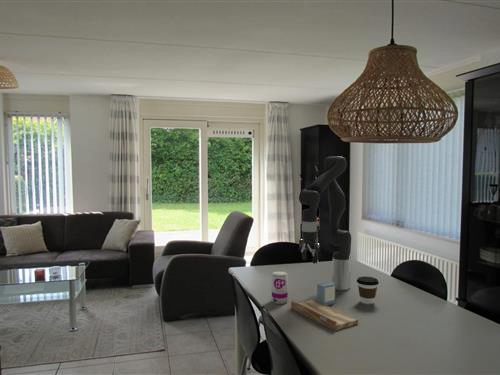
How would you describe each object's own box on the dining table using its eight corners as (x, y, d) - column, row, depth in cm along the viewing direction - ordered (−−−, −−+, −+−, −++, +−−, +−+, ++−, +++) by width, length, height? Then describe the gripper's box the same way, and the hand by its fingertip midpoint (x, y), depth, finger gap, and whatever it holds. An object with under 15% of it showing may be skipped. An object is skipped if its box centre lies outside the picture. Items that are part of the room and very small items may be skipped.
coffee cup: (379, 300, 205) (380, 277, 204) (376, 307, 195) (377, 283, 194) (358, 297, 209) (358, 275, 209) (354, 304, 200) (354, 280, 199)
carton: (328, 300, 205) (329, 281, 204) (335, 303, 201) (335, 284, 200) (317, 303, 201) (317, 284, 200) (323, 306, 196) (324, 286, 196)
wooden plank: (313, 303, 200) (313, 295, 200) (358, 323, 175) (358, 315, 174) (290, 308, 193) (290, 300, 192) (334, 330, 167) (334, 321, 167)
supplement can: (286, 305, 198) (286, 275, 197) (270, 303, 199) (270, 274, 199) (288, 299, 206) (288, 271, 205) (272, 298, 207) (272, 270, 206)
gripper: (324, 231, 195) (324, 263, 196) (306, 227, 207) (306, 257, 208) (312, 232, 191) (312, 265, 192) (294, 228, 203) (294, 259, 204)
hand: (309, 261), depth 200 cm, fingers open, 8 cm apart
